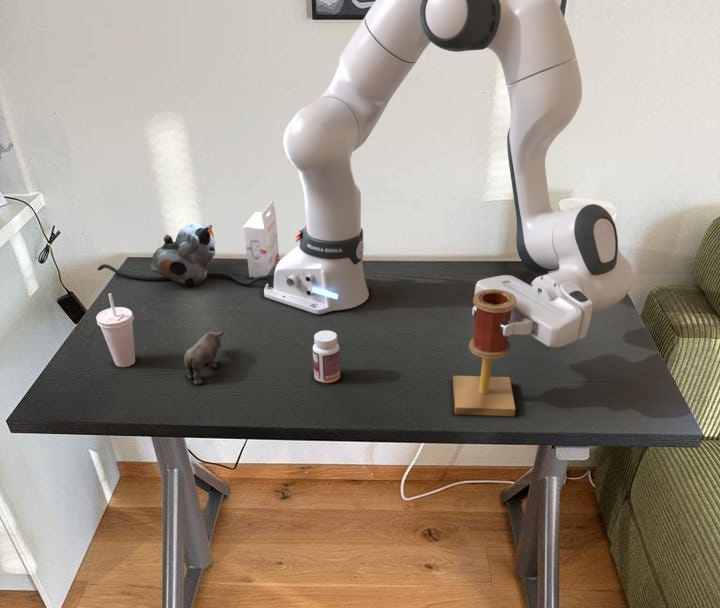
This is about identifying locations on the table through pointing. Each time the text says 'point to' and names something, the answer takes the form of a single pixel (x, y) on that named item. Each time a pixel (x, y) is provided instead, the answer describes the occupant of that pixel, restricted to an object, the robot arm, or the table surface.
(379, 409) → the table surface
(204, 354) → the rhino figurine
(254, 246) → the ink cartridge box
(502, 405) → the peg stand
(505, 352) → the spool
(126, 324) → the smoothie
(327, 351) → the pill bottle
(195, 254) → the lucky cat figurine
